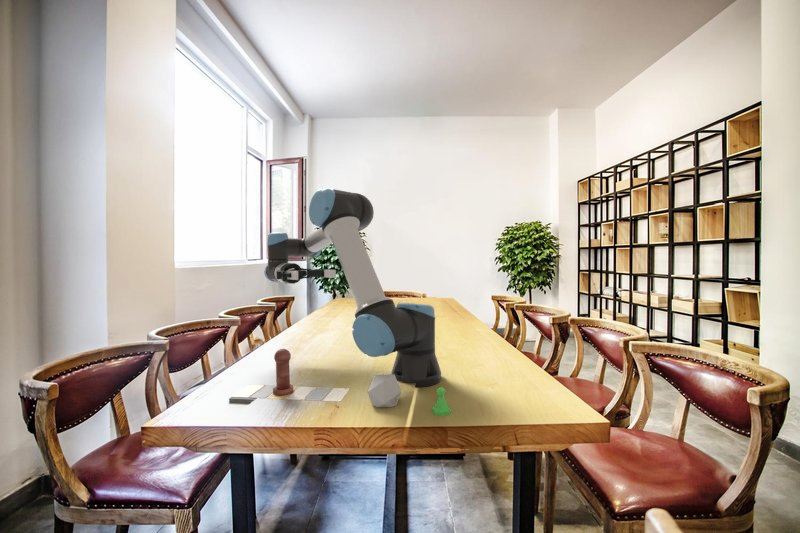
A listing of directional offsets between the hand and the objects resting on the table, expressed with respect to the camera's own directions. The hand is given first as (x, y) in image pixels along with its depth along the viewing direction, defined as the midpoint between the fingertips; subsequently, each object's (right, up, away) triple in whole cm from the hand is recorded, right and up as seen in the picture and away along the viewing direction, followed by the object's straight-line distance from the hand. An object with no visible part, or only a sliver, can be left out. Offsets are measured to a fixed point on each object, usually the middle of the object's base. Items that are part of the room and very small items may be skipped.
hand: (316, 274), depth 112 cm
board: (-2, -32, -20) cm, 38 cm away
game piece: (+37, -32, -29) cm, 57 cm away
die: (+23, -33, -27) cm, 48 cm away
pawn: (-4, -31, -19) cm, 37 cm away
